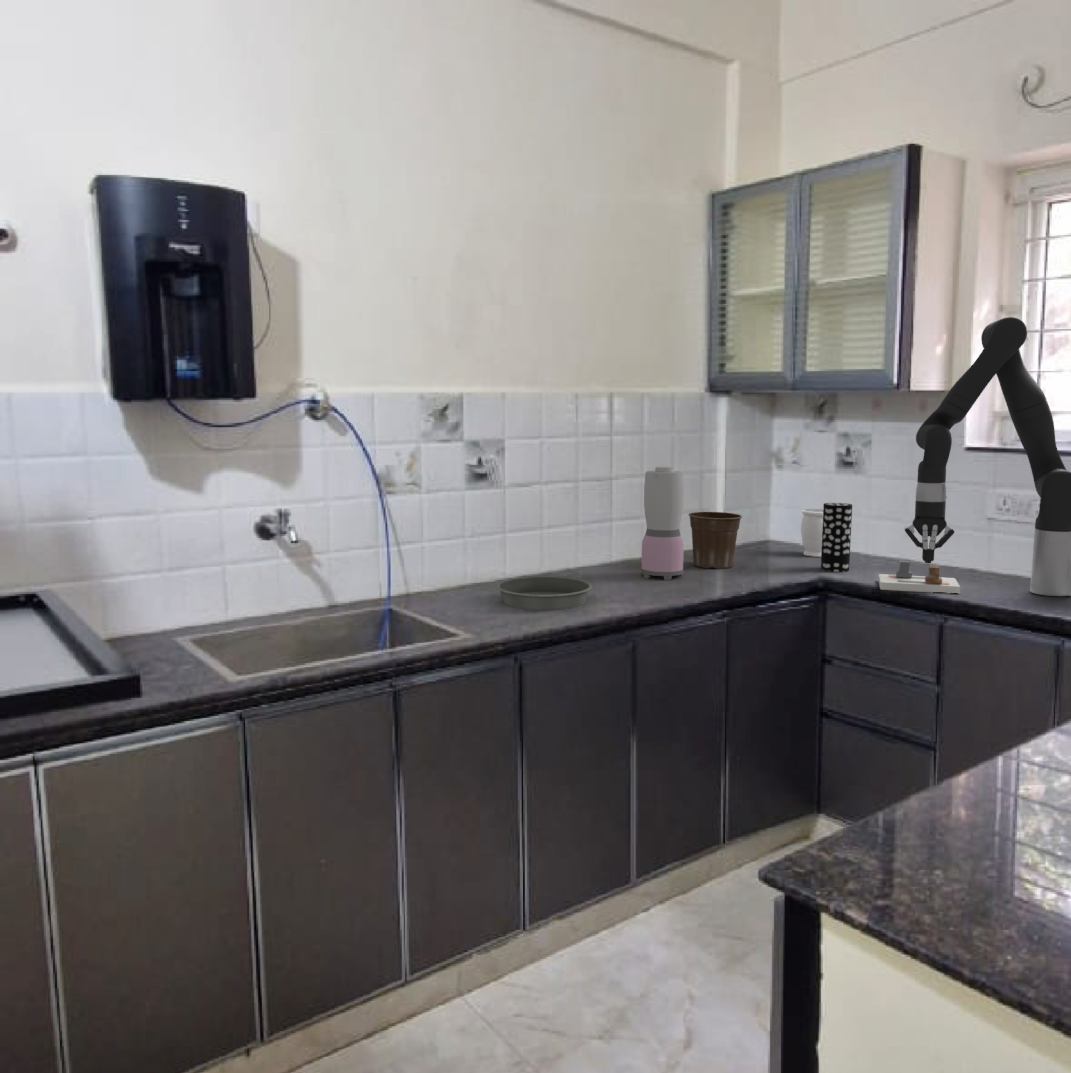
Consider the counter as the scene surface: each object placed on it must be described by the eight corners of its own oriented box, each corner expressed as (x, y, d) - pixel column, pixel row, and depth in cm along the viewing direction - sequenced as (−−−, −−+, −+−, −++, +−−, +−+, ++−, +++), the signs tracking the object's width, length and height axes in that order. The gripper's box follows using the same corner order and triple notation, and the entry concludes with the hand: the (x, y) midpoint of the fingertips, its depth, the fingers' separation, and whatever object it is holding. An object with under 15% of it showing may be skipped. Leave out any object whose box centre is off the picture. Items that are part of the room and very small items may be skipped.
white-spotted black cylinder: (850, 572, 286) (853, 506, 283) (821, 571, 287) (824, 505, 284) (847, 567, 294) (850, 503, 291) (819, 566, 295) (822, 502, 292)
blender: (675, 581, 271) (678, 469, 266) (635, 578, 276) (637, 467, 271) (691, 572, 285) (693, 465, 280) (652, 569, 290) (654, 464, 285)
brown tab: (940, 581, 260) (941, 566, 259) (941, 583, 256) (942, 568, 256) (924, 580, 261) (925, 565, 260) (925, 582, 257) (926, 567, 257)
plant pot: (750, 566, 296) (752, 514, 294) (719, 572, 285) (720, 519, 283) (708, 559, 308) (710, 510, 306) (676, 565, 297) (677, 514, 295)
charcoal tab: (910, 575, 268) (911, 560, 268) (911, 577, 265) (912, 562, 264) (895, 574, 269) (896, 559, 269) (896, 576, 266) (897, 562, 265)
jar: (812, 551, 324) (814, 508, 322) (839, 555, 316) (841, 510, 314) (793, 555, 317) (795, 510, 315) (820, 559, 310) (822, 513, 307)
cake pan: (476, 601, 245) (476, 584, 244) (544, 588, 262) (544, 572, 261) (544, 617, 228) (544, 598, 227) (611, 602, 245) (612, 585, 244)
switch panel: (954, 585, 266) (954, 577, 266) (959, 594, 254) (960, 586, 254) (878, 580, 272) (878, 573, 272) (880, 589, 260) (880, 581, 260)
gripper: (955, 498, 257) (952, 561, 260) (903, 497, 261) (900, 559, 264) (959, 501, 250) (955, 566, 253) (905, 500, 254) (902, 564, 256)
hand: (927, 562), depth 258 cm, fingers closed
